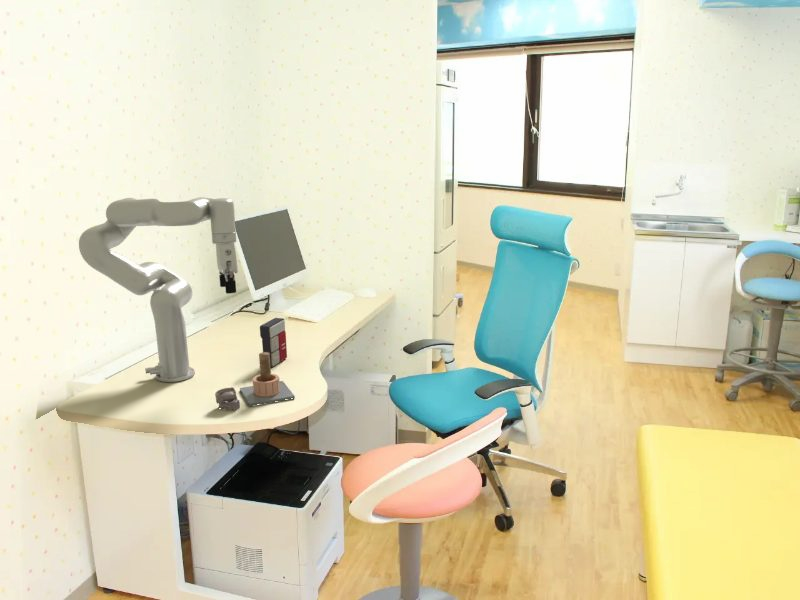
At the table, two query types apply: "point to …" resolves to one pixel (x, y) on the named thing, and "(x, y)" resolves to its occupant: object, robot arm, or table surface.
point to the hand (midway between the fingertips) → (228, 289)
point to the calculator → (274, 340)
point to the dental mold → (227, 399)
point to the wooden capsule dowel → (265, 366)
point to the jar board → (266, 391)
